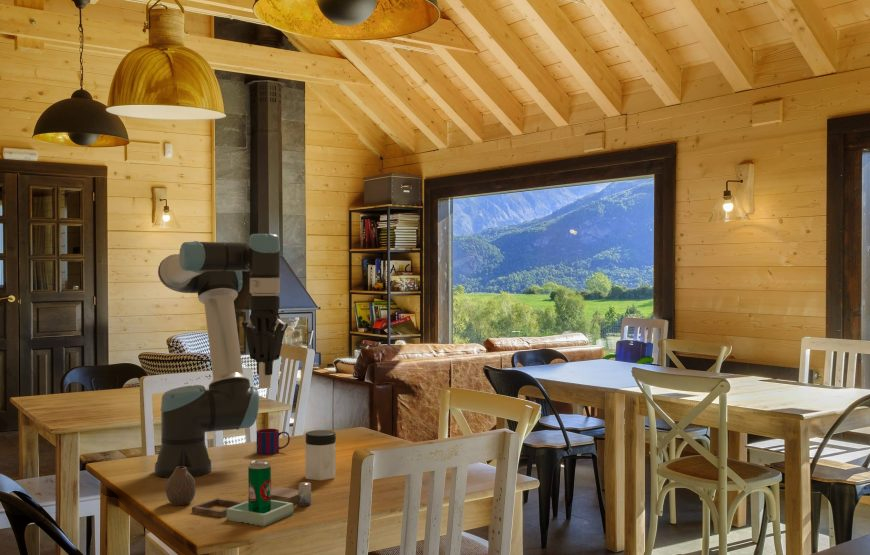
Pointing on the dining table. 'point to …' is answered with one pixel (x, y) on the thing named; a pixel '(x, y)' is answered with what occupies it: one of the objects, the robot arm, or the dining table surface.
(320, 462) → the jar
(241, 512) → the tray
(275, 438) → the mug
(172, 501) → the vase
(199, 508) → the brown square frame
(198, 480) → the dining table surface
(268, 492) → the soda can
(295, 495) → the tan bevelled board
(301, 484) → the salt shaker
